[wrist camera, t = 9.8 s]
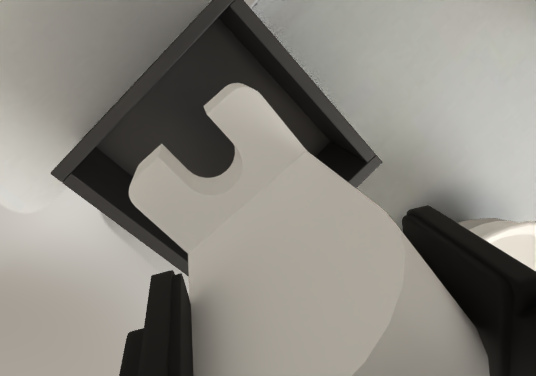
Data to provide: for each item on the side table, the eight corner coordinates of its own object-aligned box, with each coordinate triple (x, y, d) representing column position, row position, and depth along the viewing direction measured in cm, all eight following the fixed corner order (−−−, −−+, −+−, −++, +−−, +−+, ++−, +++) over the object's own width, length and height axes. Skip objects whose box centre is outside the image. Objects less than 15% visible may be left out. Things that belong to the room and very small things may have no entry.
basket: (81, 144, 30) (49, 173, 22) (216, 1, 28) (228, -18, 21) (221, 255, 35) (231, 308, 28) (339, 139, 34) (383, 162, 26)
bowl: (356, 325, 41) (398, 391, 33) (396, 179, 36) (456, 214, 28) (484, 326, 44) (549, 385, 37) (535, 194, 40) (622, 229, 32)
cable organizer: (238, 74, 14) (357, 115, 4) (384, 252, 17) (617, 480, 8) (127, 174, 14) (18, 409, 5) (294, 328, 18) (418, 631, 8)
